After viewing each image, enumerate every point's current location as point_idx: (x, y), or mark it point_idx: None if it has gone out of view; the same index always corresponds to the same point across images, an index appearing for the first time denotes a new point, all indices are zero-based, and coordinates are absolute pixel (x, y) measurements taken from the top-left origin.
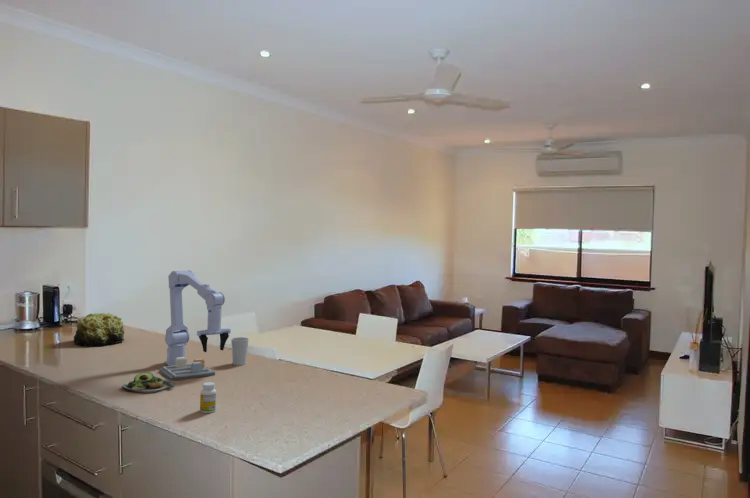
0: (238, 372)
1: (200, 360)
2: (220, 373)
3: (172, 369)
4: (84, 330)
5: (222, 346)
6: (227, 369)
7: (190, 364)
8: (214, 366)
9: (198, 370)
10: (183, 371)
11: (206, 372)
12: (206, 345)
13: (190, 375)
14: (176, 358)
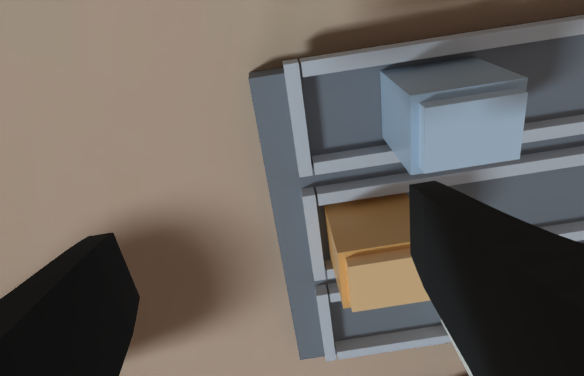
0: (5, 103)
1: (382, 256)
2: (188, 119)
3: (582, 234)
4: None
5: (73, 270)
6: (111, 231)
7: (393, 341)
8: (205, 331)
9: (435, 71)
10: (526, 160)
11: (346, 54)
12: (486, 232)
13: (513, 25)
14: None
